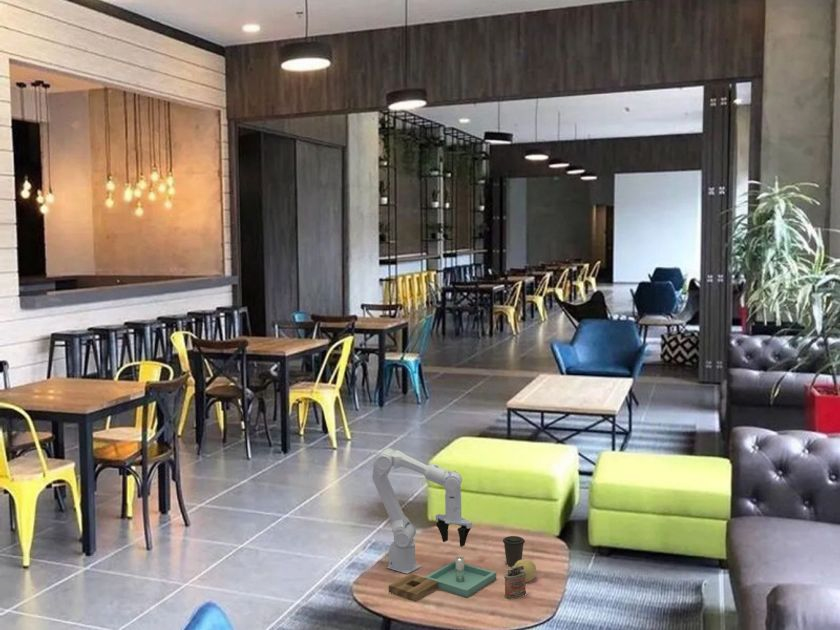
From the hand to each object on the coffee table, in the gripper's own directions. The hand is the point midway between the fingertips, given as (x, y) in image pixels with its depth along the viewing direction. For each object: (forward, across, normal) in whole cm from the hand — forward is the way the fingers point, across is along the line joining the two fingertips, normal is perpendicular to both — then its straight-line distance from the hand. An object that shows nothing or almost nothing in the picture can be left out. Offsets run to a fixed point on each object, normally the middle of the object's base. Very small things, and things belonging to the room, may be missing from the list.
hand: (453, 543), depth 293 cm
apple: (+11, +24, +9) cm, 28 cm away
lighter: (+11, +28, -4) cm, 30 cm away
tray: (+10, +7, -6) cm, 14 cm away
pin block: (+10, -2, -21) cm, 24 cm away
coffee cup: (+11, +14, +18) cm, 25 cm away
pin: (+10, +7, -6) cm, 14 cm away
